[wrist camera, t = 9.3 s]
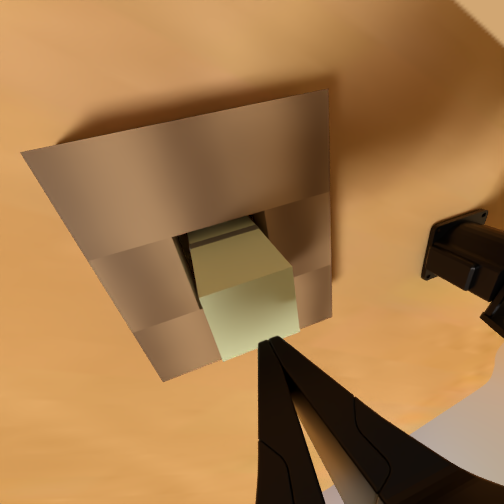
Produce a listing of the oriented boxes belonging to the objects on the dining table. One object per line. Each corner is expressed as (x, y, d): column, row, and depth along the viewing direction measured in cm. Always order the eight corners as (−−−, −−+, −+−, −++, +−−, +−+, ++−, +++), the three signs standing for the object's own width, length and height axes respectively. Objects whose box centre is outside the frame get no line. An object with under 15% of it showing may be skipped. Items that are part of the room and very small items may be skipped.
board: (300, 94, 15) (328, 88, 12) (313, 295, 23) (332, 316, 20) (50, 146, 12) (20, 152, 10) (163, 350, 20) (163, 382, 18)
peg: (242, 209, 17) (292, 265, 10) (253, 258, 19) (300, 332, 12) (185, 225, 16) (197, 297, 10) (202, 274, 18) (222, 362, 12)
